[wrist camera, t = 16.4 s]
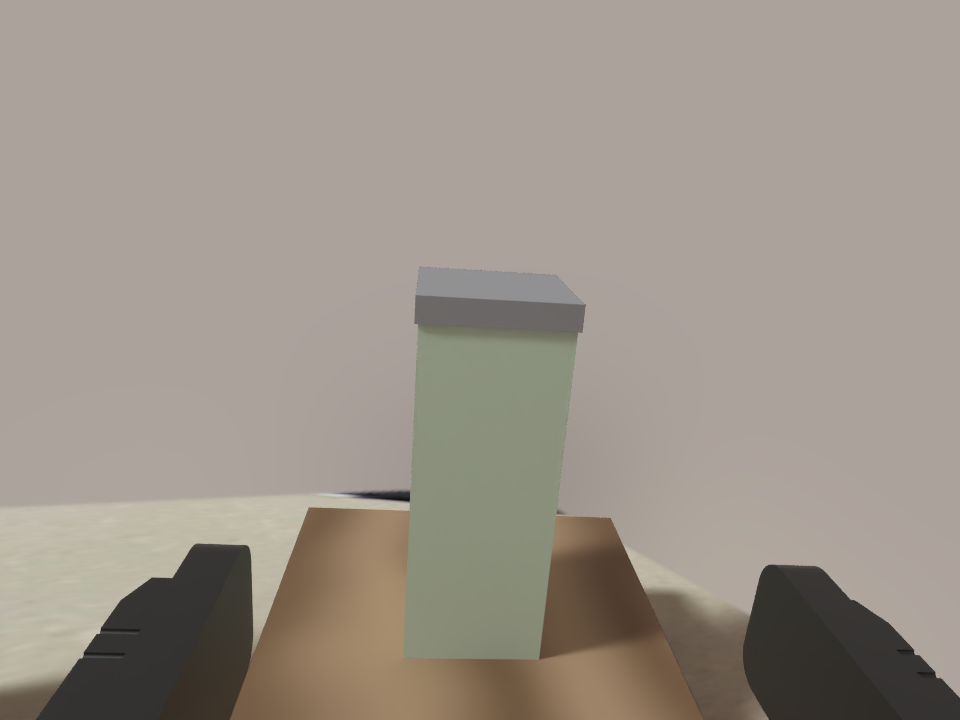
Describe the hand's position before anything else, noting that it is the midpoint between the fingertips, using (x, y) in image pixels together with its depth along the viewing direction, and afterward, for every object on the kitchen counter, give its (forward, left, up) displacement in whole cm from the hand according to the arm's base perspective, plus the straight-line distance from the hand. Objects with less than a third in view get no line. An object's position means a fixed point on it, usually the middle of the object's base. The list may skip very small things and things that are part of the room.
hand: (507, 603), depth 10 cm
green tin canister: (0, +11, -9) cm, 15 cm away
